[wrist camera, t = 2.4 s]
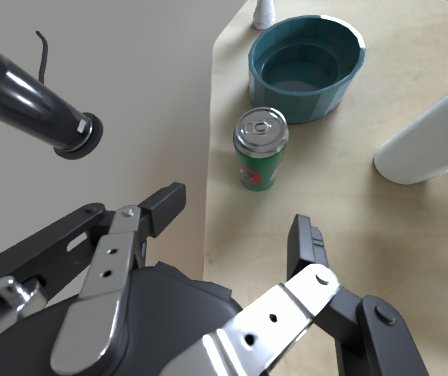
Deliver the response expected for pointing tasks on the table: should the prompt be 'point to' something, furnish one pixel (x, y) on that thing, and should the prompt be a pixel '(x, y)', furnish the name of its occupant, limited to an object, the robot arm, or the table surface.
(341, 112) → the table surface
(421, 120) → the mug
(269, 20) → the rook chess piece
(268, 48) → the teal serving bowl
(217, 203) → the table surface
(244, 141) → the soda can
